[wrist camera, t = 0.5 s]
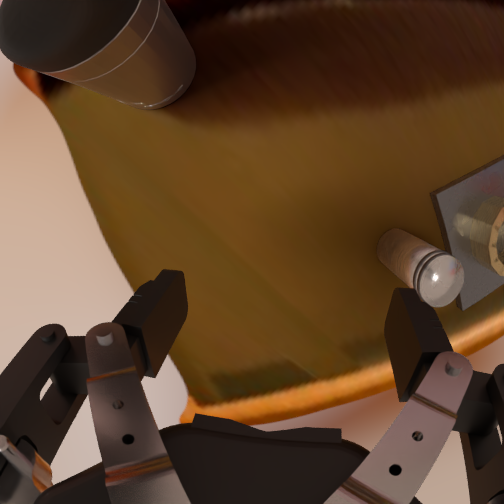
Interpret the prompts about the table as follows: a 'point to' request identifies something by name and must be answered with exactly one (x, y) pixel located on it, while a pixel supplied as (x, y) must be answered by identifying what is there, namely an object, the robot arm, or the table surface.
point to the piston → (421, 266)
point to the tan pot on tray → (474, 228)
